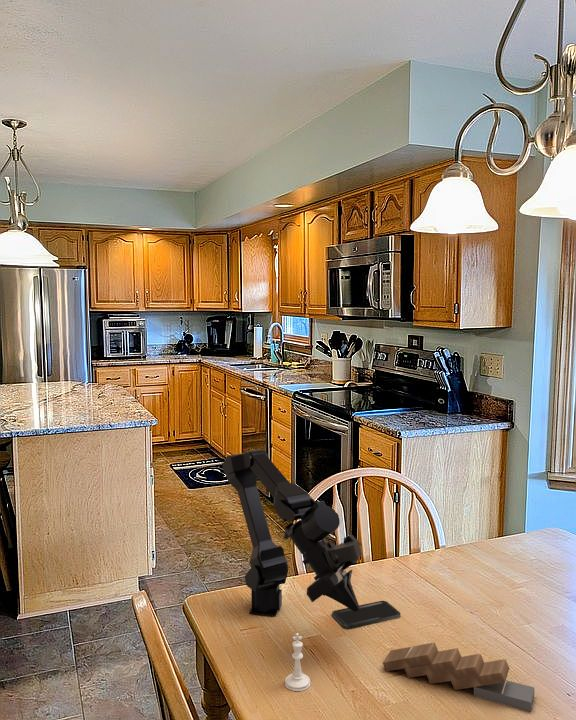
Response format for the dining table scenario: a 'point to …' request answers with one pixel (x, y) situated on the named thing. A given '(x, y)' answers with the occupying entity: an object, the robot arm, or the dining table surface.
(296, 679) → the chess piece
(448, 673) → the domino
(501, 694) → the domino
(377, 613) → the phone
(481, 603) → the dining table surface
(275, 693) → the dining table surface
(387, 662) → the domino
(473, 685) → the domino
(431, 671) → the domino
